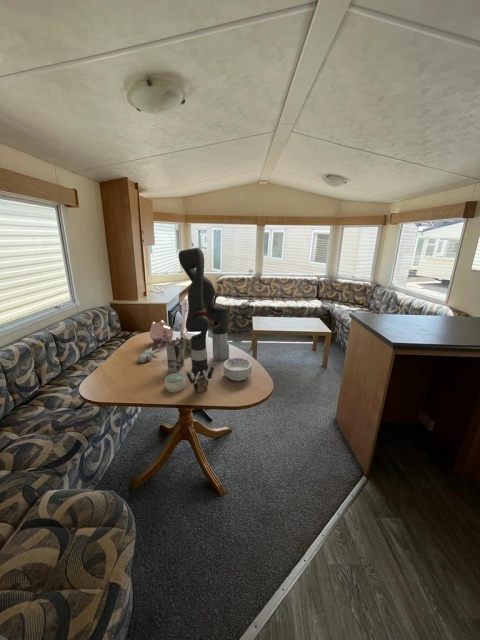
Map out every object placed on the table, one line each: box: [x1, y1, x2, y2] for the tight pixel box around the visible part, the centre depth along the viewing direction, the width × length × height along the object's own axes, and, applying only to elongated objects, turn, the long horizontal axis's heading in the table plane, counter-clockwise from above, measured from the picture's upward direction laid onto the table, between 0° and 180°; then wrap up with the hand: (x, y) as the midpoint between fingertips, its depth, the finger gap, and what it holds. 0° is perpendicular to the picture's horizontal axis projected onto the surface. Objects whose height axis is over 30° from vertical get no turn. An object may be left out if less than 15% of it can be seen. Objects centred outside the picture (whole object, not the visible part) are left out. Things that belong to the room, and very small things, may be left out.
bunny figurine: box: [136, 347, 160, 364], centre depth 163 cm, size 10×5×15 cm
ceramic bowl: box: [164, 372, 187, 393], centre depth 131 cm, size 10×10×5 cm
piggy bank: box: [149, 319, 174, 348], centre depth 185 cm, size 15×18×16 cm
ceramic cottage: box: [175, 330, 191, 360], centre depth 167 cm, size 16×16×15 cm
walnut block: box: [196, 376, 208, 393], centre depth 128 cm, size 4×4×6 cm
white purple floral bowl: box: [223, 357, 253, 382], centre depth 140 cm, size 15×15×8 cm
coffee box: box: [165, 339, 186, 373], centre depth 148 cm, size 9×6×16 cm
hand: (201, 387), depth 129 cm, fingers closed on walnut block, 4 cm apart
